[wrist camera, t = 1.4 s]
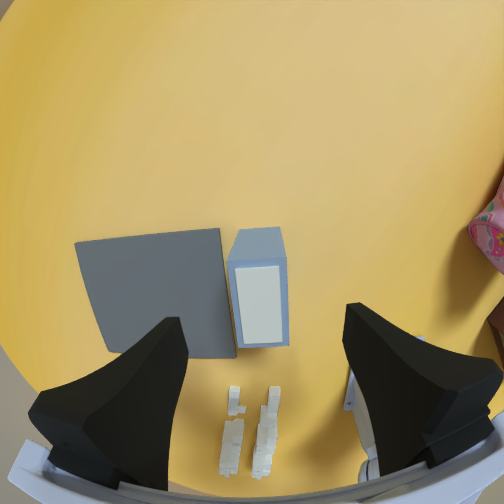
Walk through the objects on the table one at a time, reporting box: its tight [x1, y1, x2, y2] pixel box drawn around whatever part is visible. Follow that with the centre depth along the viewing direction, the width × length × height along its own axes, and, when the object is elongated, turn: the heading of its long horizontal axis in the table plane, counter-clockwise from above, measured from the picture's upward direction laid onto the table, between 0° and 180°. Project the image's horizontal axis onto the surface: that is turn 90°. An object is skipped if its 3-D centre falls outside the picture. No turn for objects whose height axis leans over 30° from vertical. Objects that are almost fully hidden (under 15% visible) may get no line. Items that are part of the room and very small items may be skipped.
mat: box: [74, 228, 237, 358], centre depth 22 cm, size 12×14×1 cm
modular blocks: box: [219, 386, 280, 480], centre depth 26 cm, size 20×7×4 cm, turn 177°
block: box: [227, 227, 289, 348], centre depth 18 cm, size 6×3×7 cm, turn 5°
